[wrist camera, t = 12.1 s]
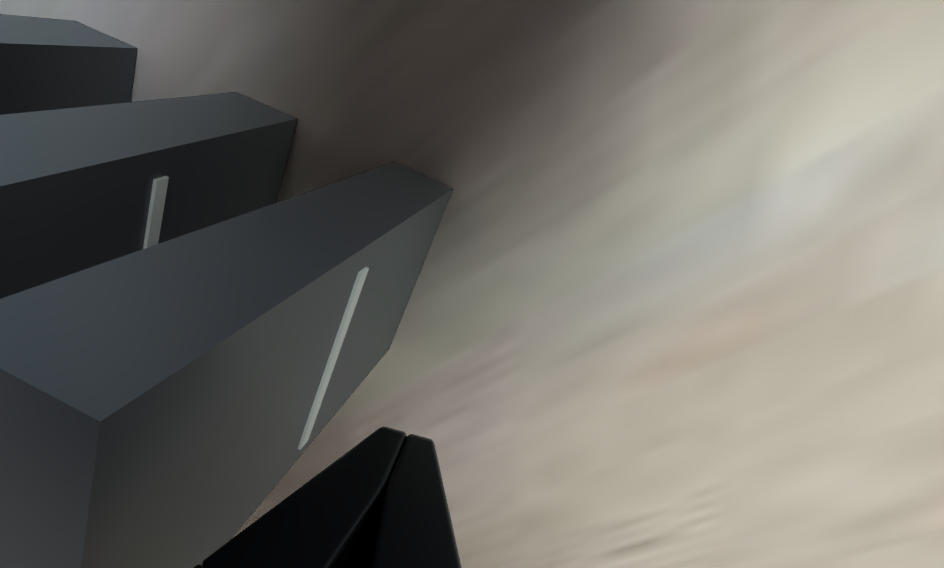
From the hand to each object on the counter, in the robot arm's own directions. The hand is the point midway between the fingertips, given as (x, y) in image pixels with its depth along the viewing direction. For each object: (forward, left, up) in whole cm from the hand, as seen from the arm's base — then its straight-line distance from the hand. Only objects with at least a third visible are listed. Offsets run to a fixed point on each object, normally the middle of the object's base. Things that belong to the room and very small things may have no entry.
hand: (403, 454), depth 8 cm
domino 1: (+2, +1, -6) cm, 7 cm away
